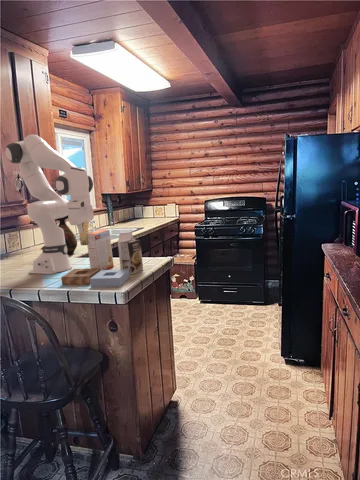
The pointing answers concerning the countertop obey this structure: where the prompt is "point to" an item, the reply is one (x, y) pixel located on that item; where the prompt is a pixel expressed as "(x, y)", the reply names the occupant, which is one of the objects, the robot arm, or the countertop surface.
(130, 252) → the coffee box
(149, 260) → the countertop surface
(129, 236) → the milk carton
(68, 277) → the block
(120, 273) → the socket block
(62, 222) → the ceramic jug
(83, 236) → the brass peg
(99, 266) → the cracker box
